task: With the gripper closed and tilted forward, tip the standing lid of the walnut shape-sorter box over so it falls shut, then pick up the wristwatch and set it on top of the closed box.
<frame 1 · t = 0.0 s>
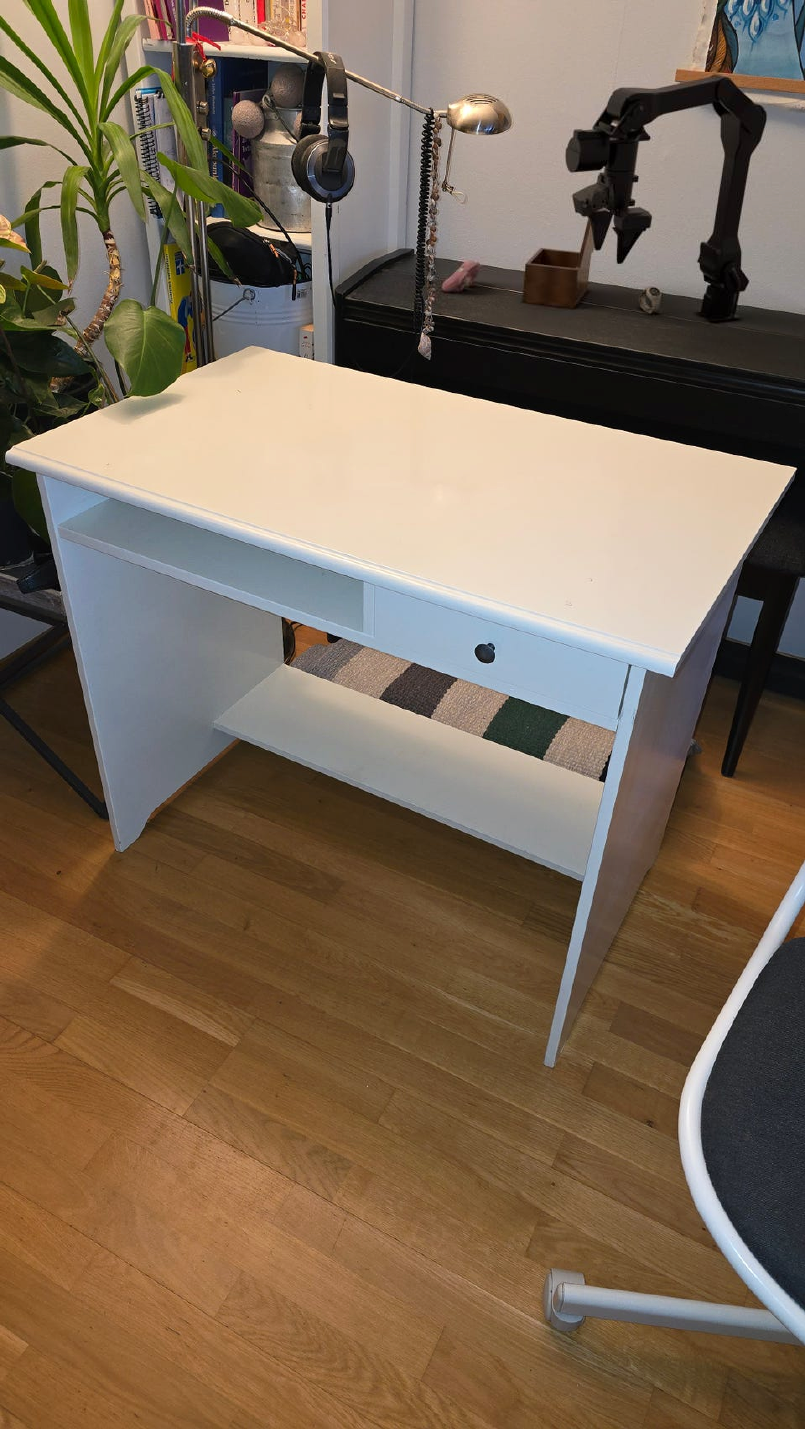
hand: (608, 257, 194), 15 cm above the table, tool pointing down, fingers open, 9 cm apart
pink rounded lump: (462, 289, 225), on the table
sorter lid: (592, 229, 209), point 14 cm above the table, hinge at 98.0°
wristwatch: (648, 311, 214), on the table
sorter box: (555, 296, 221), on the table
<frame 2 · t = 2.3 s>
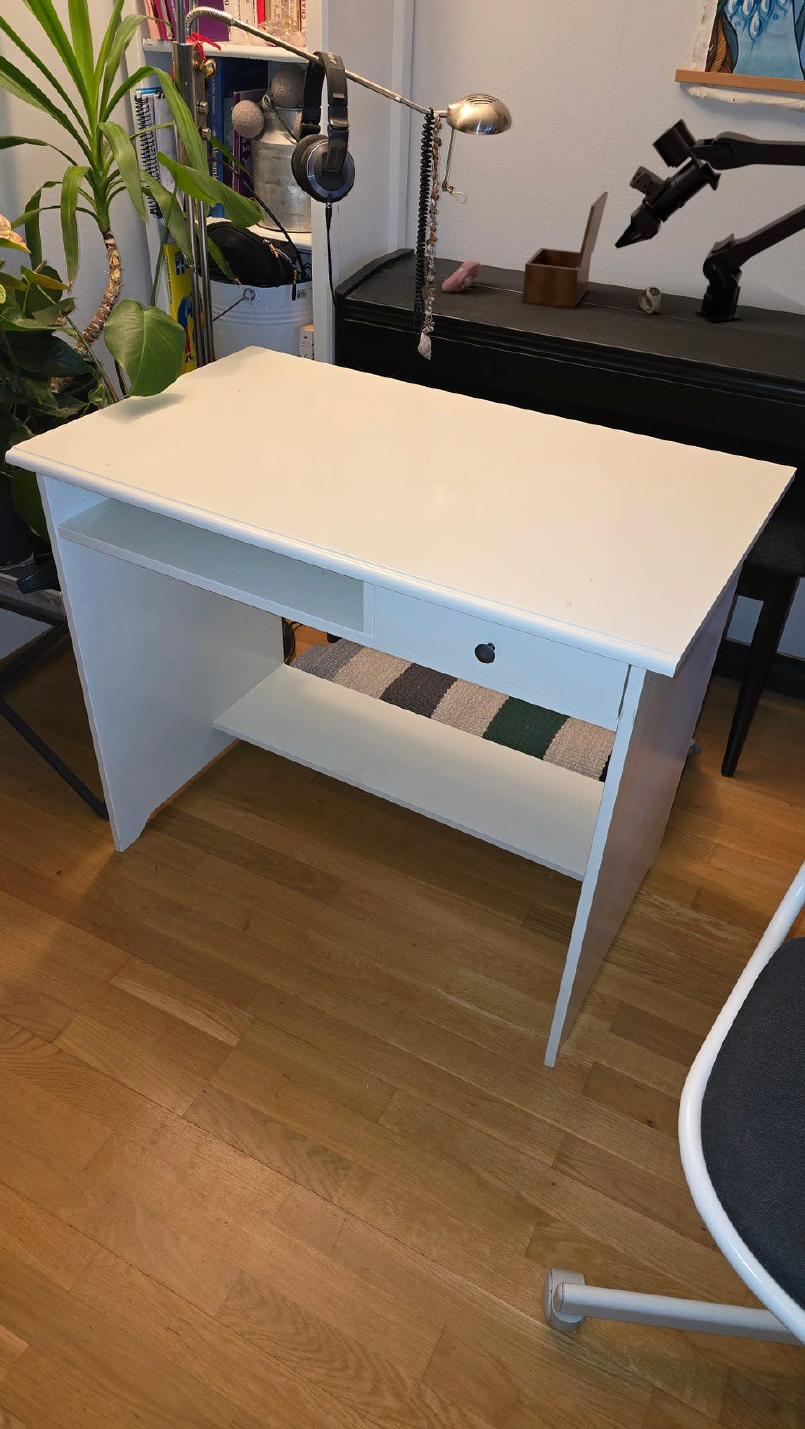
hand: (620, 240, 209), 13 cm above the table, tool tilted 45°, fingers open, 9 cm apart
nothing on the table moved.
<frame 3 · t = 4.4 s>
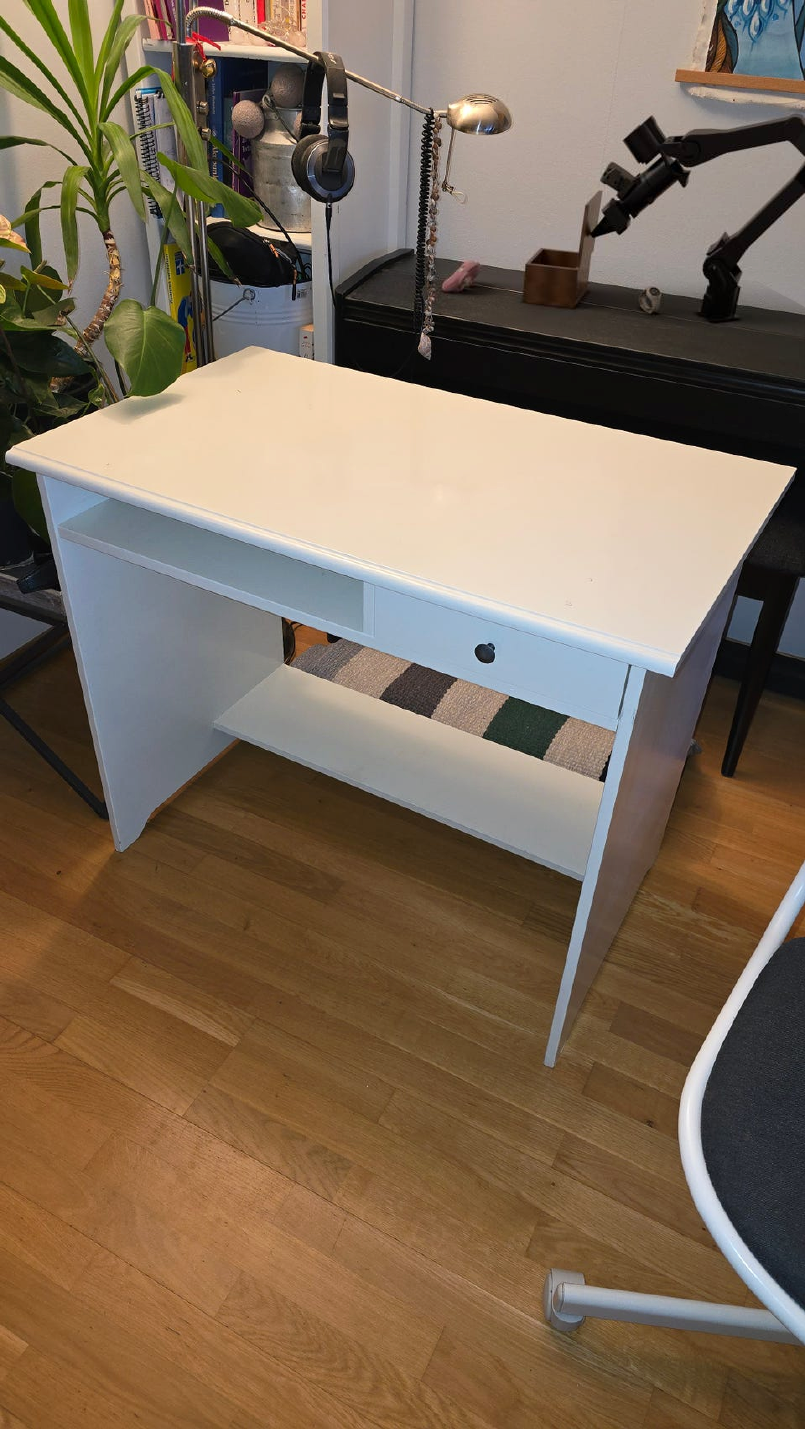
hand: (591, 236, 210), 13 cm above the table, tool tilted 45°, fingers closed
sorter lid: (589, 229, 210), point 15 cm above the table, hinge at 92.0°
everything else where it was.
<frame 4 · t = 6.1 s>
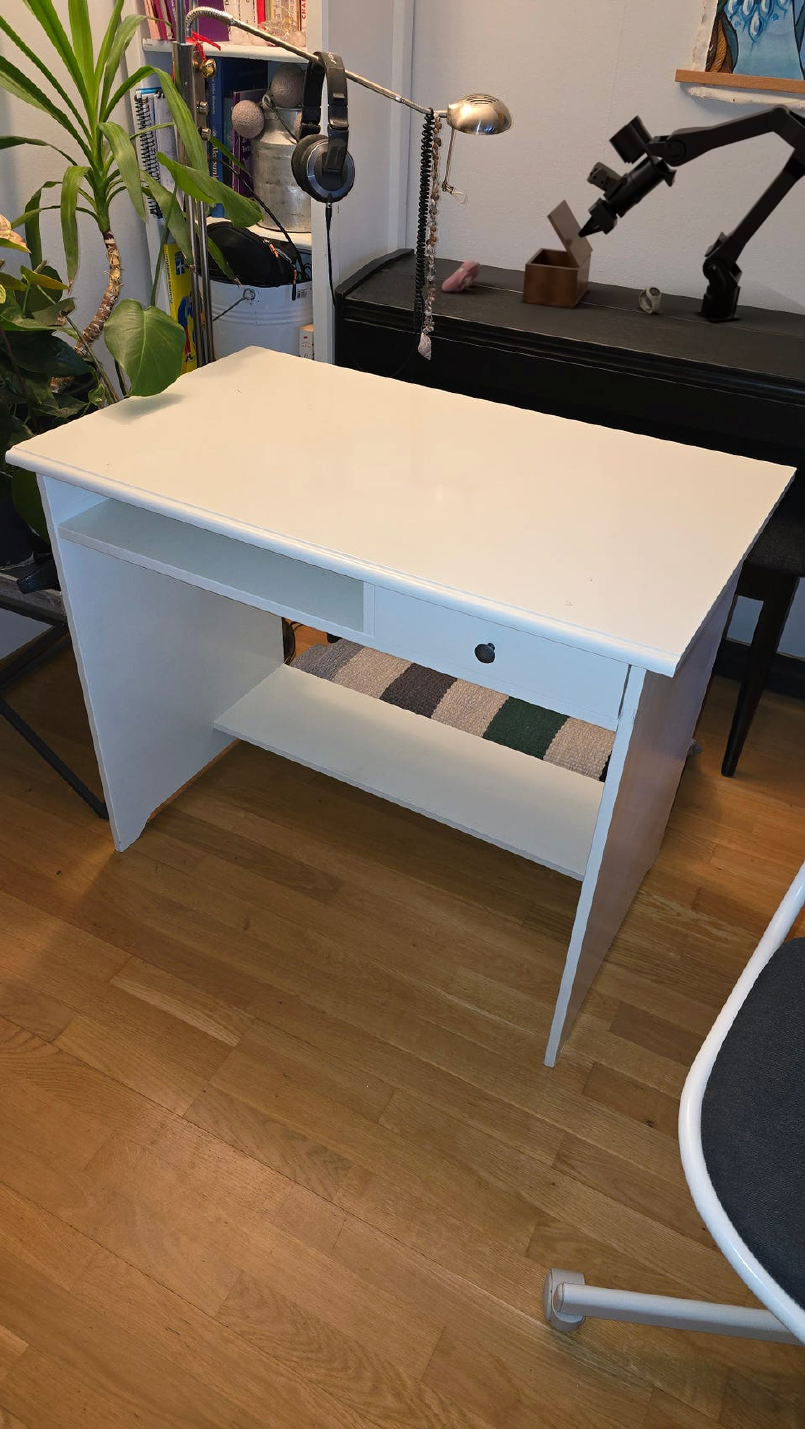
hand: (579, 235, 211), 13 cm above the table, tool tilted 45°, fingers closed
sorter lid: (570, 233, 211), point 13 cm above the table, hinge at 52.1°
everything else where it was.
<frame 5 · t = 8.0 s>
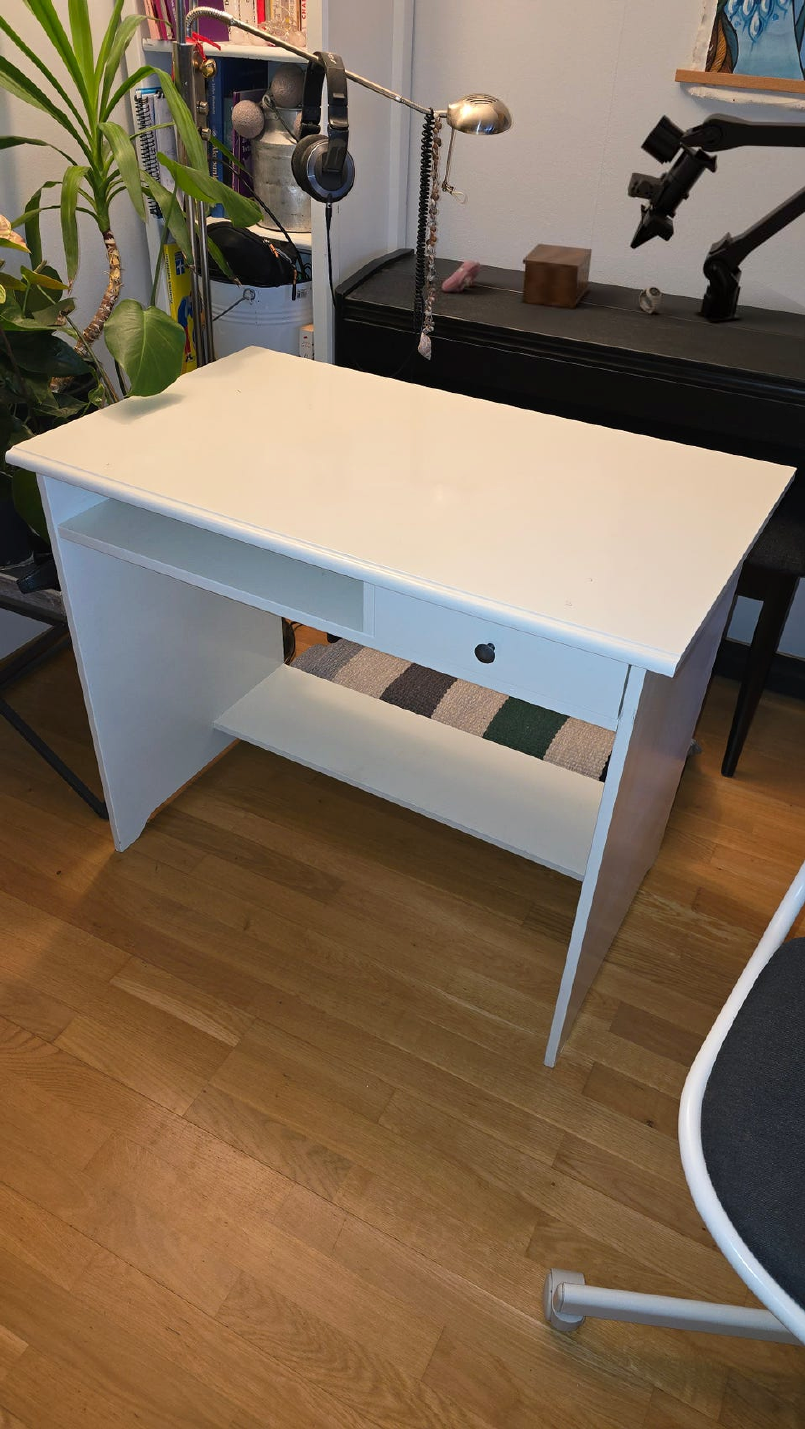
hand: (631, 247, 208), 12 cm above the table, tool tilted 30°, fingers closed
sorter lid: (557, 256, 215), point 8 cm above the table, hinge at -0.2°
everything else where it was.
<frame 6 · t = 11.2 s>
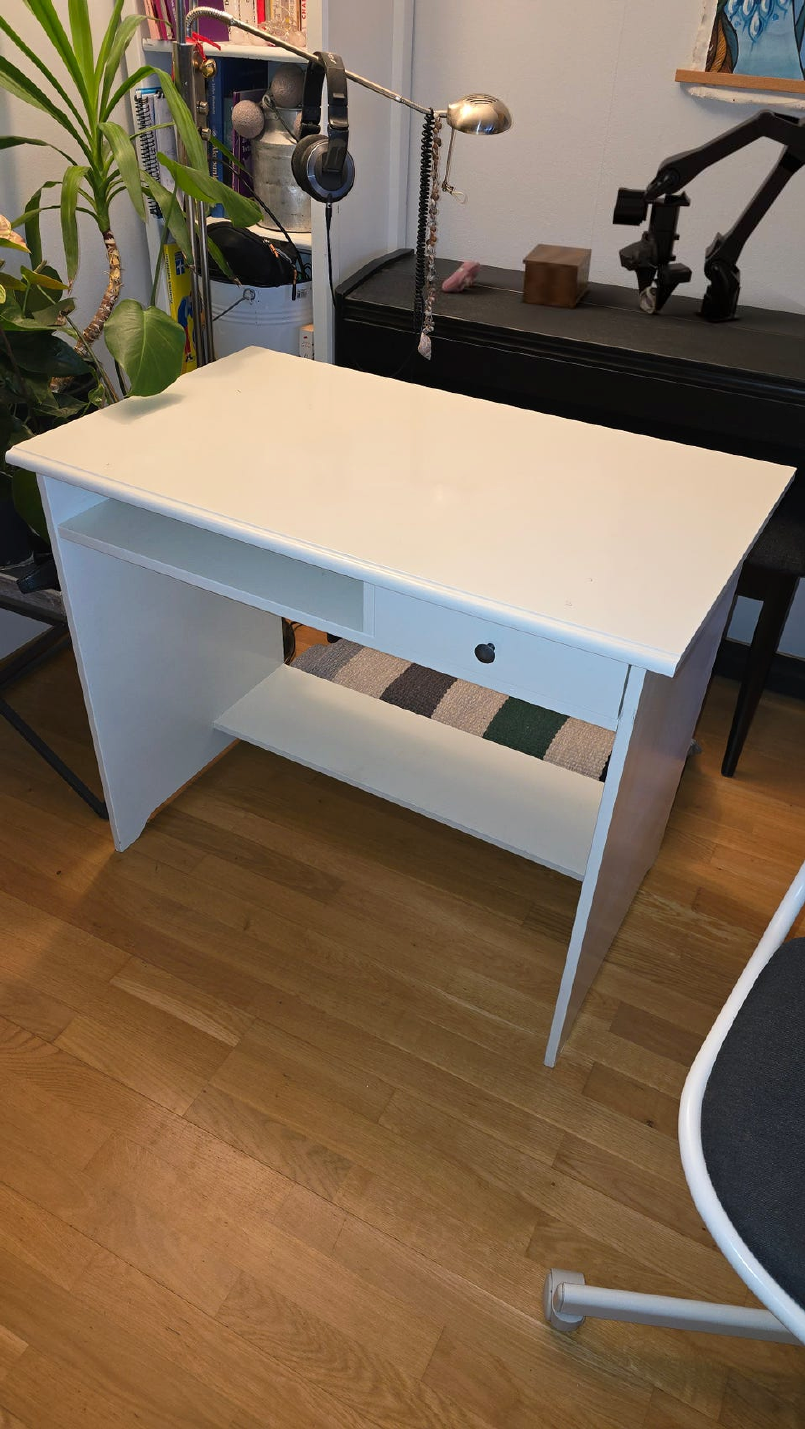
hand: (650, 305, 213), 1 cm above the table, tool pointing down, fingers closed on wristwatch, 6 cm apart
wristwatch: (648, 311, 214), on the table, touching gripper
everything else where it was.
when the fingers open (10 cm above the table, at t = 15.5 s): wristwatch stays where it is, resting on sorter lid.
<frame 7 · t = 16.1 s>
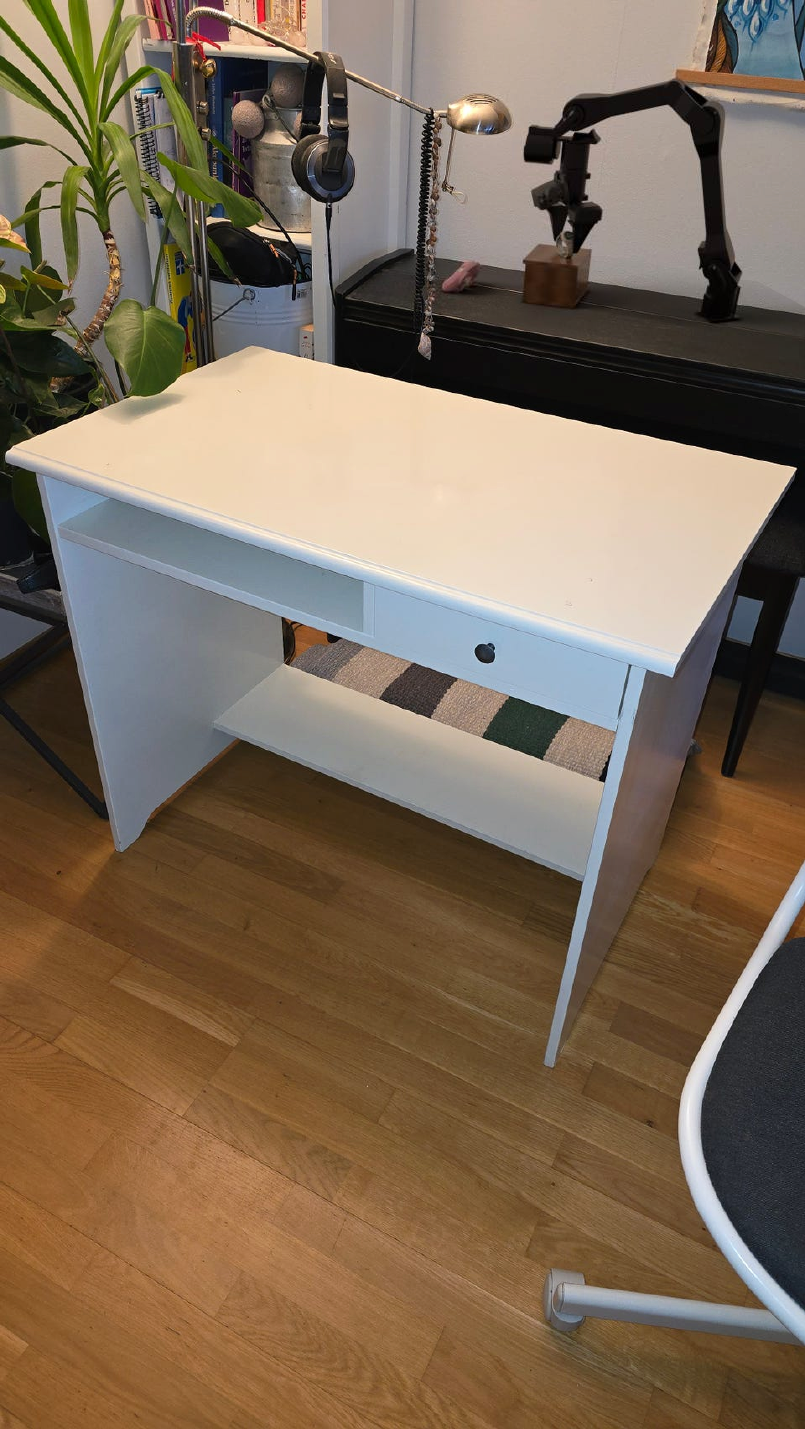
hand: (565, 247, 214), 10 cm above the table, tool pointing down, fingers open, 9 cm apart
sorter lid: (557, 256, 215), point 8 cm above the table, hinge at -0.2°, touching sorter box, wristwatch
wristwatch: (564, 256, 215), point 9 cm above the table, touching sorter lid
everything else where it was.
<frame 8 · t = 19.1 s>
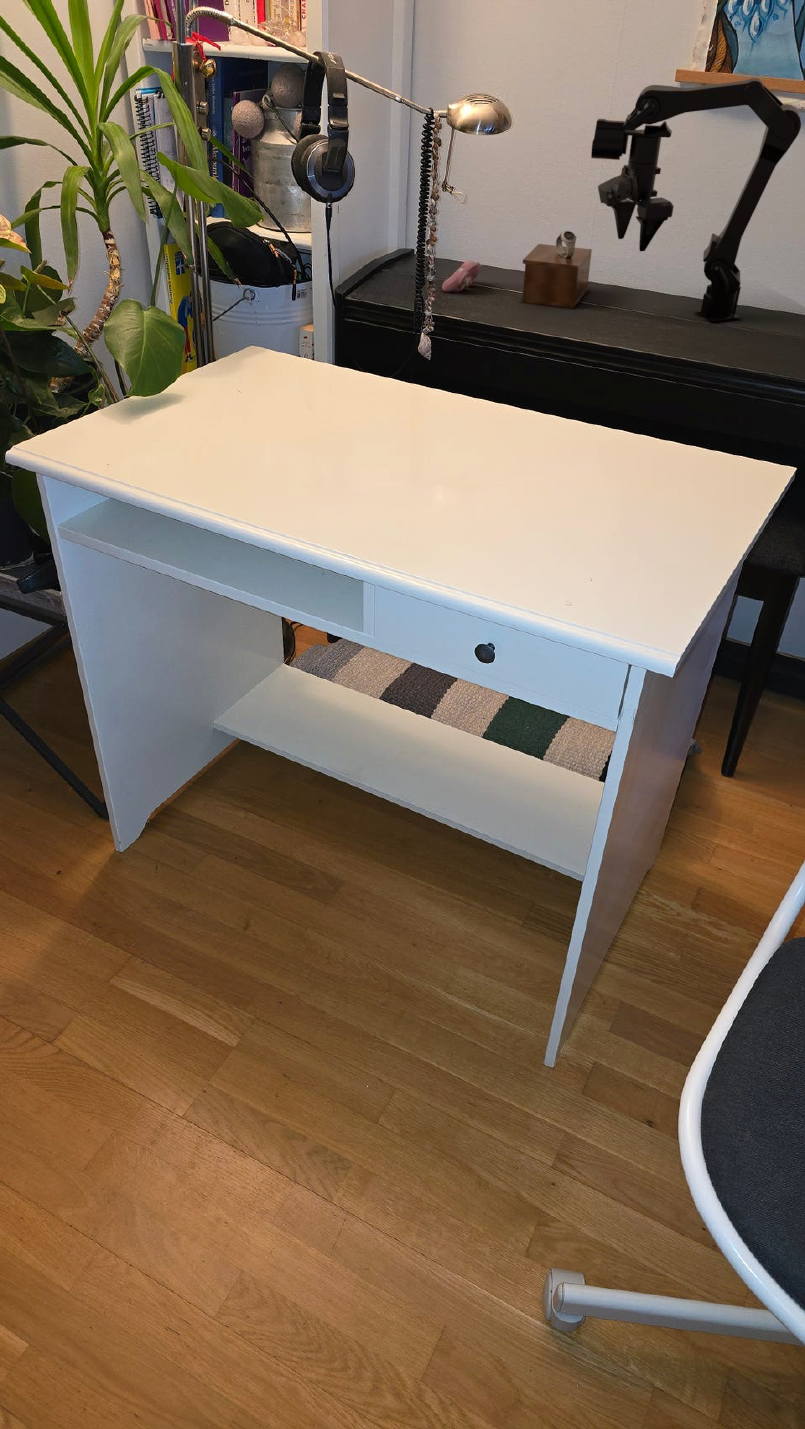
hand: (631, 245, 206), 13 cm above the table, tool pointing down, fingers open, 9 cm apart
nothing on the table moved.
at the end: sorter lid at +0° (first picture: +98°); wristwatch inside the target area on the sorter box (1.3 cm from its centre), point 8.6 cm above the sorter box's base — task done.
